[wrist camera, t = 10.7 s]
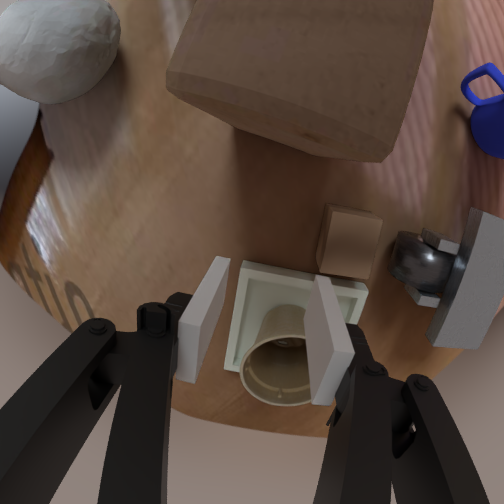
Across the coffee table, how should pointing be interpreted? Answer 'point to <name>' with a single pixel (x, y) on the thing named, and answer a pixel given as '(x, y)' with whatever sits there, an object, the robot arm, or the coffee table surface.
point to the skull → (56, 47)
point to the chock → (348, 241)
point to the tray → (279, 302)
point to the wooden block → (305, 70)
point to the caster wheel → (454, 278)
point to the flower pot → (279, 359)
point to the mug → (487, 112)
